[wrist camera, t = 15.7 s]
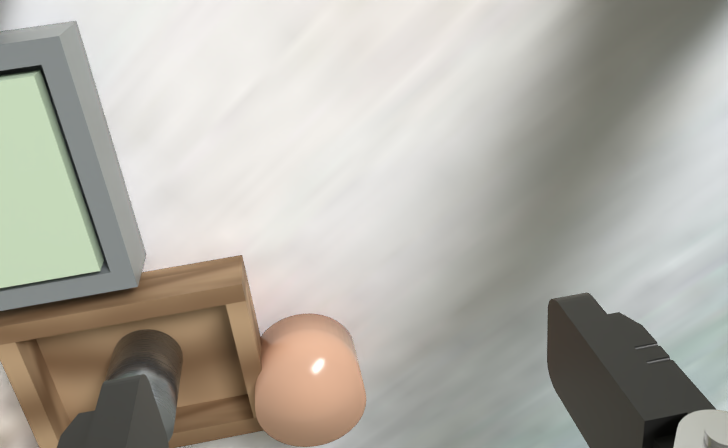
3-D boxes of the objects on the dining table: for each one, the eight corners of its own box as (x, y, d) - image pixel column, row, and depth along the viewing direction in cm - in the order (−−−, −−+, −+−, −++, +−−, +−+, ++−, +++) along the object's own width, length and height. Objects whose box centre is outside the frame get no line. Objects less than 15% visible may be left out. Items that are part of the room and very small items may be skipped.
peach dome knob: (348, 305, 47) (359, 350, 42) (360, 385, 50) (371, 434, 46) (245, 324, 46) (245, 371, 42) (263, 403, 49) (265, 456, 45)
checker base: (76, 20, 36) (59, 35, 33) (146, 254, 43) (137, 286, 39) (-148, 52, 35) (-189, 71, 32) (-41, 286, 42) (-66, 322, 38)
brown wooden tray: (5, 296, 43) (-14, 329, 40) (242, 255, 44) (241, 284, 41) (63, 433, 48) (50, 472, 45) (273, 393, 49) (275, 428, 46)
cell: (172, 322, 44) (159, 394, 38) (190, 376, 46) (182, 453, 40) (102, 337, 44) (79, 412, 37) (124, 392, 46) (105, 471, 39)
